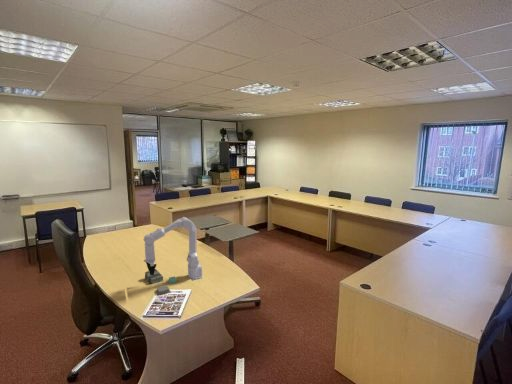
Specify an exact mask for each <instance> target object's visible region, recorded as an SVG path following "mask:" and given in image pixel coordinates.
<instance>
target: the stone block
mask: <svg viewBox="0 0 512 384" xmlns="http://www.w3.org/2000/svg"><path fill="white" fill-rule="evenodd" d="M144 280H145V281H147V282H148V284H149V285H154V284H157V283H161V282H164V276H163V275H162V274H161V273H160V271H158V270H157V268H155V271H154V275H150V272H149V270H147V271H145V272H144Z"/></svg>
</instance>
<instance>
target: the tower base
mask: <svg viewBox="0 0 512 384" xmlns="http://www.w3.org/2000/svg"><path fill="white" fill-rule="evenodd" d="M168 288H169V292H168V293H163V294H159V293H158V290H157V289H155V292H156V295H157V296H158V297H159V296H163V295H167V294H171V293H172V292H171V290H170V287H168Z"/></svg>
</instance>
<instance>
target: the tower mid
mask: <svg viewBox="0 0 512 384" xmlns="http://www.w3.org/2000/svg"><path fill="white" fill-rule="evenodd" d="M169 289H170V287H169V288H168V285H167V284H166V285H162V286H158V287H157V288H156V290H158V293H159V294H163V293H167V294H169V293H168V292H169ZM163 295H164V294H163Z"/></svg>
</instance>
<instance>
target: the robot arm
mask: <svg viewBox="0 0 512 384" xmlns="http://www.w3.org/2000/svg"><path fill="white" fill-rule="evenodd" d="M177 228H178V229H182V228H183V229H186V230H188V232H189V233H188V253H187V257H186V262H187V276H188V278H189V279H190V280H191V281H194V280H198V279H203V268H202V267H203V266H202V265H201V263H200V260H199V257H198V253H197V242H198V241H197V239H198V238H197V237H198V236H197V234H198V233H197V226H196V225H195V224H194V222H193V221H192V220H190V219H189V218H187V217H186V216H182V217H181V218H177V219H176V220H175V221H174V222H171V223H170V224H169V225H167V226H165V227H164V228H163V227H160V228H156V230H154V231H152V232H150V233H149V234H145V235H144V237H143V241H144V257H145V259H143V262H144V263H146V267H147V271H149V272H150V275H154V271H155V269H156V268H157V263H155V261H156V252H155V251H156V250H155V242H156V241H158V240H159V239H162V238H164V237H165V236H166V234H167V233H169V232H170V231H173V230H175V229H177Z"/></svg>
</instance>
